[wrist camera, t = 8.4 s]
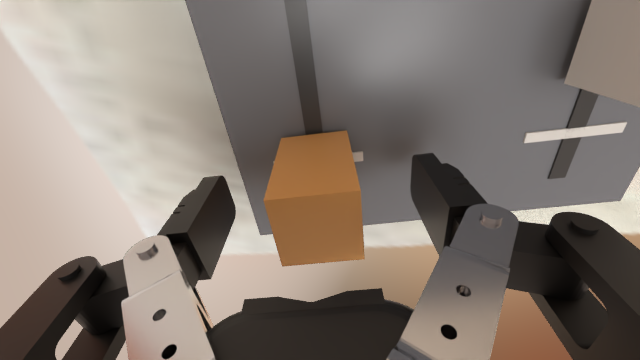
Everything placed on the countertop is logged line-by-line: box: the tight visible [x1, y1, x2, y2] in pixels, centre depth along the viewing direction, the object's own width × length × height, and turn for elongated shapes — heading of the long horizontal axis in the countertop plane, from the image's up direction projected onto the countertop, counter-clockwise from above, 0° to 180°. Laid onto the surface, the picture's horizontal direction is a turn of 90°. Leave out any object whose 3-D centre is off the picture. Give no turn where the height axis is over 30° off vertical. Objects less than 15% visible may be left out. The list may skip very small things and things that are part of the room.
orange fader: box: [263, 130, 364, 266], centre depth 11 cm, size 3×3×5 cm
